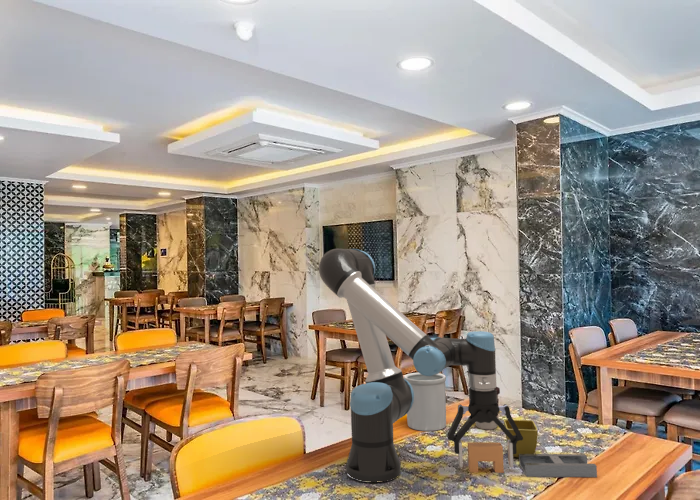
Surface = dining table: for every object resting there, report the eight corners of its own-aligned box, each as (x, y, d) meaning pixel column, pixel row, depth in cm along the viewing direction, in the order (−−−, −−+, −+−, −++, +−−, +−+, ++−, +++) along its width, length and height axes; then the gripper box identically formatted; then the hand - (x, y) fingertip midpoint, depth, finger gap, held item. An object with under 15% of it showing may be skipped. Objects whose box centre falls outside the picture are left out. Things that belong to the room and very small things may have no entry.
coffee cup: (504, 430, 168) (503, 386, 169) (475, 431, 168) (474, 387, 169) (496, 421, 178) (494, 379, 179) (469, 422, 178) (467, 380, 179)
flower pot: (539, 461, 141) (538, 429, 142) (507, 460, 143) (506, 428, 144) (534, 450, 150) (533, 420, 150) (504, 449, 152) (503, 419, 152)
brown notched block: (470, 472, 135) (469, 446, 136) (468, 467, 139) (467, 442, 139) (503, 472, 135) (502, 446, 135) (501, 467, 138) (500, 442, 138)
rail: (526, 476, 132) (526, 465, 132) (519, 464, 140) (518, 453, 140) (597, 477, 130) (596, 465, 130) (585, 465, 138) (585, 454, 138)
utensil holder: (401, 420, 183) (400, 372, 184) (440, 417, 185) (439, 370, 186) (410, 433, 169) (409, 381, 169) (453, 430, 170) (451, 379, 171)
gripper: (438, 391, 135) (441, 470, 134) (532, 391, 133) (535, 471, 132) (436, 385, 142) (438, 459, 142) (525, 384, 140) (528, 460, 139)
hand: (485, 465), depth 137 cm, fingers open, 13 cm apart
